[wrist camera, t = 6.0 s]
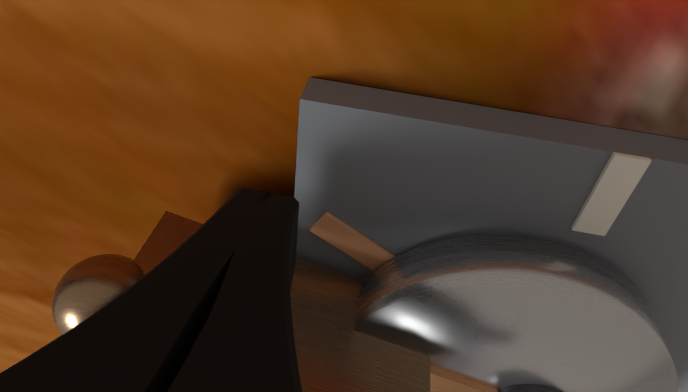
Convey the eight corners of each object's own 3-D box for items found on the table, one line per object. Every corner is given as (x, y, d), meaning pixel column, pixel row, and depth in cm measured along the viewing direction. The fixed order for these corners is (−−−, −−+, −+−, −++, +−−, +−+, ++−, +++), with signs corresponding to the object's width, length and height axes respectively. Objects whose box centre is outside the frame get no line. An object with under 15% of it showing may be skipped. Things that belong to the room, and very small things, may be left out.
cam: (735, 309, 11) (832, 471, 8) (532, 444, 16) (552, 573, 13) (125, 74, 10) (4, 180, 7) (109, 304, 15) (35, 418, 12)
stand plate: (630, 457, 18) (640, 489, 17) (287, 390, 19) (280, 418, 18) (939, 182, 10) (987, 217, 9) (309, 76, 10) (298, 101, 10)
